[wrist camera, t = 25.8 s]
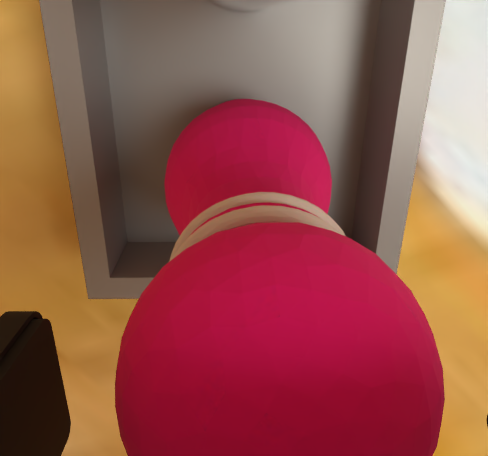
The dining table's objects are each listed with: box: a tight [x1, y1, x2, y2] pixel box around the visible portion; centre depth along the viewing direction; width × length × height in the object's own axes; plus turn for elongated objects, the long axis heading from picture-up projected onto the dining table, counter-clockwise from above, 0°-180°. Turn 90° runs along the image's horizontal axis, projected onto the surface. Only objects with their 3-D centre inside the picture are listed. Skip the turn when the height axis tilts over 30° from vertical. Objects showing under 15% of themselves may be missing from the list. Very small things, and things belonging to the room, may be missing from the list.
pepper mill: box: [115, 99, 445, 456], centre depth 14 cm, size 7×7×20 cm
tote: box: [39, 0, 446, 299], centre depth 19 cm, size 22×15×5 cm
